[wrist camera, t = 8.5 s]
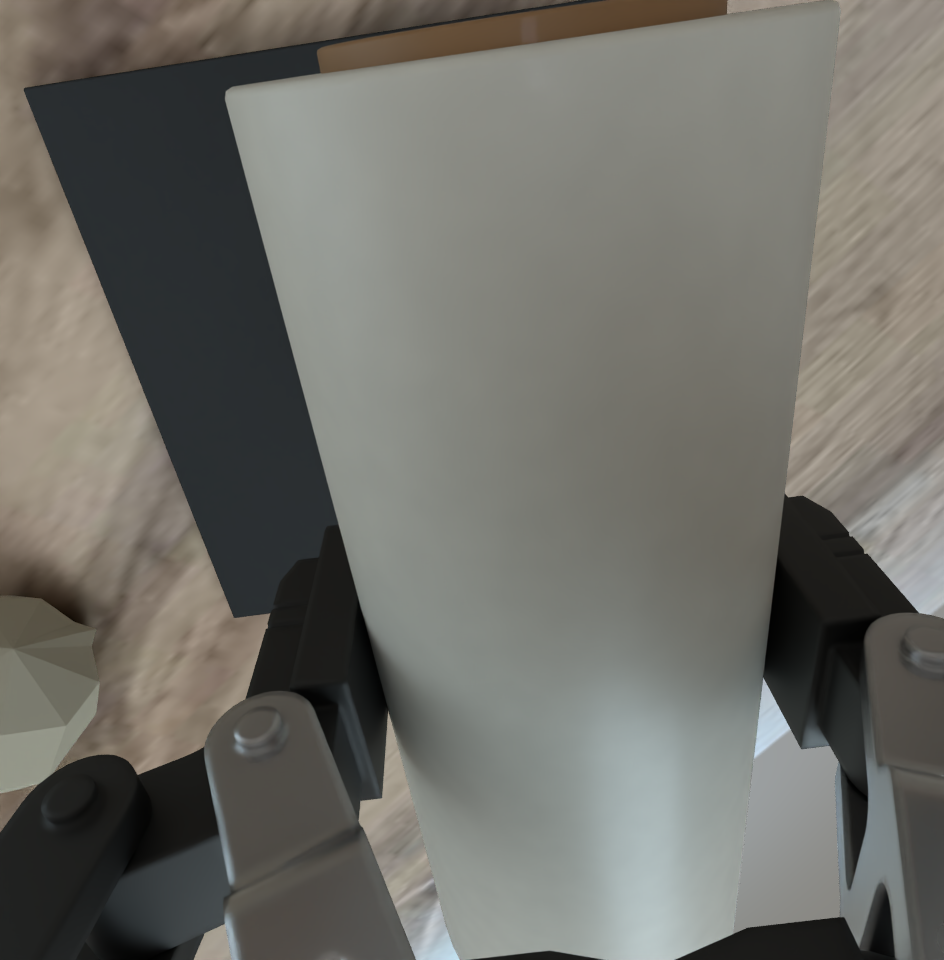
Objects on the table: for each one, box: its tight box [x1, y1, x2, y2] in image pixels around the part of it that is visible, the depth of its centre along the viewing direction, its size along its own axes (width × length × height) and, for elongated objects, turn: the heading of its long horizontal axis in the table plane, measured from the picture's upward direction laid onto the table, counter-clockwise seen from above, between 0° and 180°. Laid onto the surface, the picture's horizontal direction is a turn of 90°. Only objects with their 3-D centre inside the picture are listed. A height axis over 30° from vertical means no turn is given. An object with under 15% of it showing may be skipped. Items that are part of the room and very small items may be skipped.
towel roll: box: [225, 0, 841, 960], centre depth 10 cm, size 6×14×6 cm, turn 7°
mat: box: [24, 0, 606, 618], centre depth 25 cm, size 20×18×1 cm
